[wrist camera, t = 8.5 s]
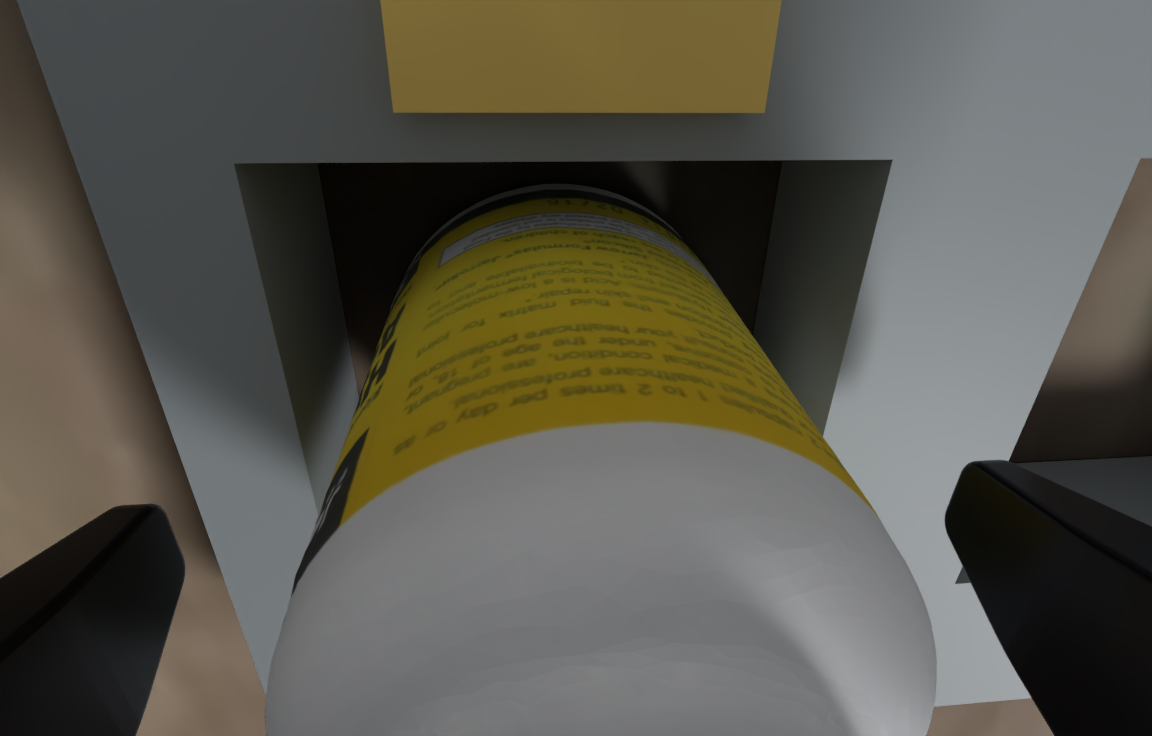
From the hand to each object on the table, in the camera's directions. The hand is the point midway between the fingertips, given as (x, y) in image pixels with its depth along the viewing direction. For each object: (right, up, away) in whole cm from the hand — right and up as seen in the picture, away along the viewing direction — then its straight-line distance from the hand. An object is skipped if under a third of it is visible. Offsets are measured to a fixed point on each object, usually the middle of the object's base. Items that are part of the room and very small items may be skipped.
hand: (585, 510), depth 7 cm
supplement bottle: (-1, +2, +4) cm, 5 cm away
